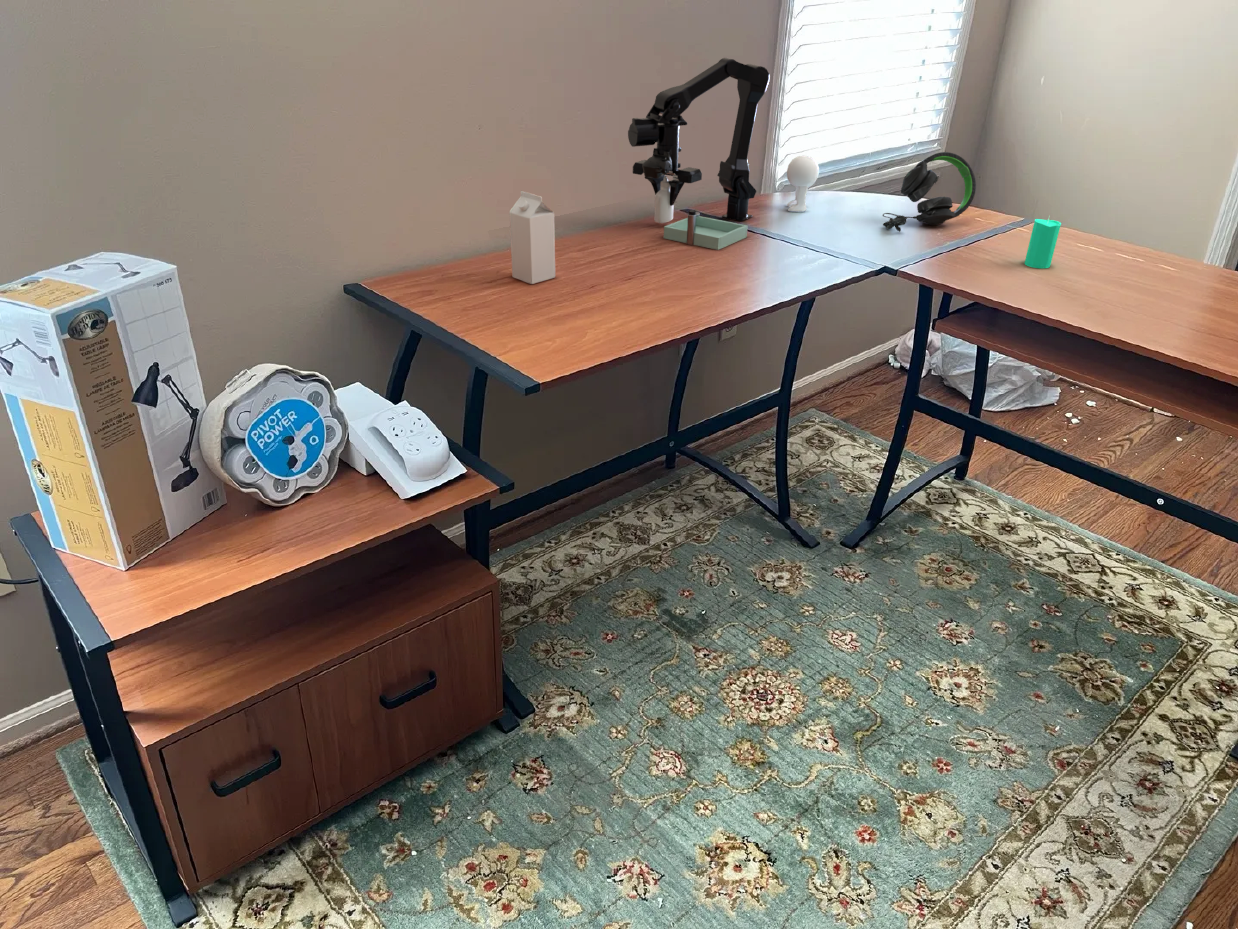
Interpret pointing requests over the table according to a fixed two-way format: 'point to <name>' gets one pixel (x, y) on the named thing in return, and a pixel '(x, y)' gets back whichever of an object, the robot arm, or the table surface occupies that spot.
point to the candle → (1042, 243)
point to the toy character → (801, 180)
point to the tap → (691, 226)
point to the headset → (921, 183)
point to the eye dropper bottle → (663, 203)
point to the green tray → (707, 232)
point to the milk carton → (532, 239)
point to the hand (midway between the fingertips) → (665, 204)
